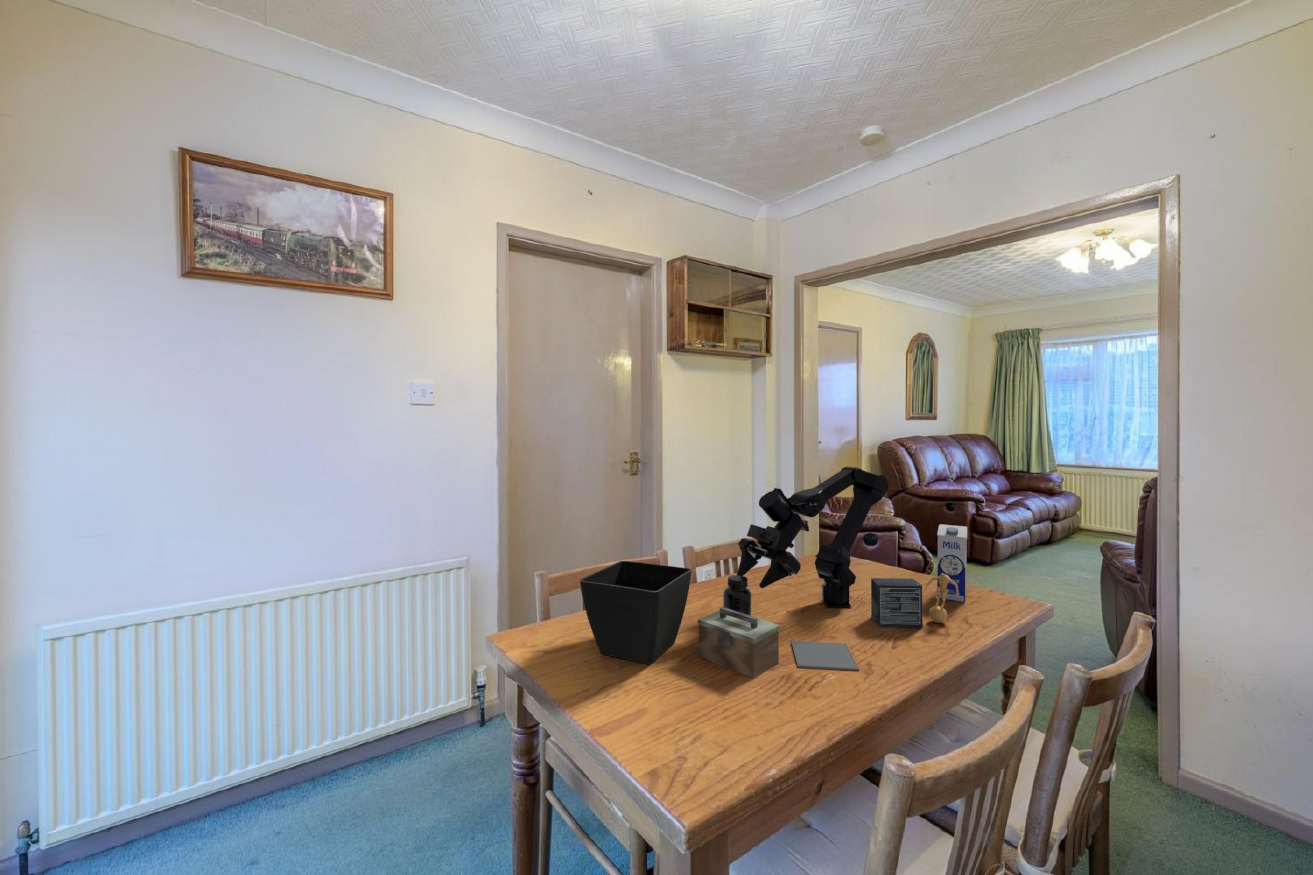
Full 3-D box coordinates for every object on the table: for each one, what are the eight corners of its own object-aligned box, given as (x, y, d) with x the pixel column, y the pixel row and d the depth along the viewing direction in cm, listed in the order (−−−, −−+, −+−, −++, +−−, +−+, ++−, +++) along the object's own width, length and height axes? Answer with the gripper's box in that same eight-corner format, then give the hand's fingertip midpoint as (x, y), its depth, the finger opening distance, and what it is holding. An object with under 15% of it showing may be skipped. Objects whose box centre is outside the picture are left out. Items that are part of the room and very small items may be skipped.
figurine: (917, 618, 133) (917, 571, 133) (930, 613, 137) (930, 567, 136) (950, 629, 126) (951, 580, 126) (963, 624, 130) (964, 575, 129)
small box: (913, 618, 134) (913, 577, 133) (923, 628, 127) (924, 585, 127) (870, 617, 135) (870, 576, 134) (878, 627, 128) (878, 584, 128)
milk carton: (966, 595, 150) (967, 525, 149) (965, 603, 144) (966, 530, 143) (938, 591, 154) (939, 523, 153) (936, 598, 148) (937, 527, 147)
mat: (846, 645, 118) (846, 643, 118) (859, 670, 106) (859, 668, 106) (791, 642, 120) (791, 640, 120) (797, 667, 108) (797, 665, 108)
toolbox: (696, 656, 113) (696, 610, 113) (724, 642, 120) (724, 599, 120) (753, 679, 103) (753, 629, 103) (780, 663, 110) (780, 615, 110)
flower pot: (622, 625, 130) (621, 558, 130) (693, 639, 122) (693, 567, 121) (578, 657, 113) (577, 579, 113) (657, 675, 105) (657, 592, 104)
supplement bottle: (734, 634, 125) (733, 583, 124) (717, 624, 131) (717, 576, 131) (757, 628, 128) (757, 579, 128) (740, 619, 134) (740, 572, 134)
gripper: (743, 507, 141) (708, 553, 136) (791, 519, 124) (753, 571, 120) (767, 533, 145) (733, 579, 140) (816, 548, 128) (780, 600, 123)
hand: (748, 581), depth 131 cm, fingers open, 9 cm apart
